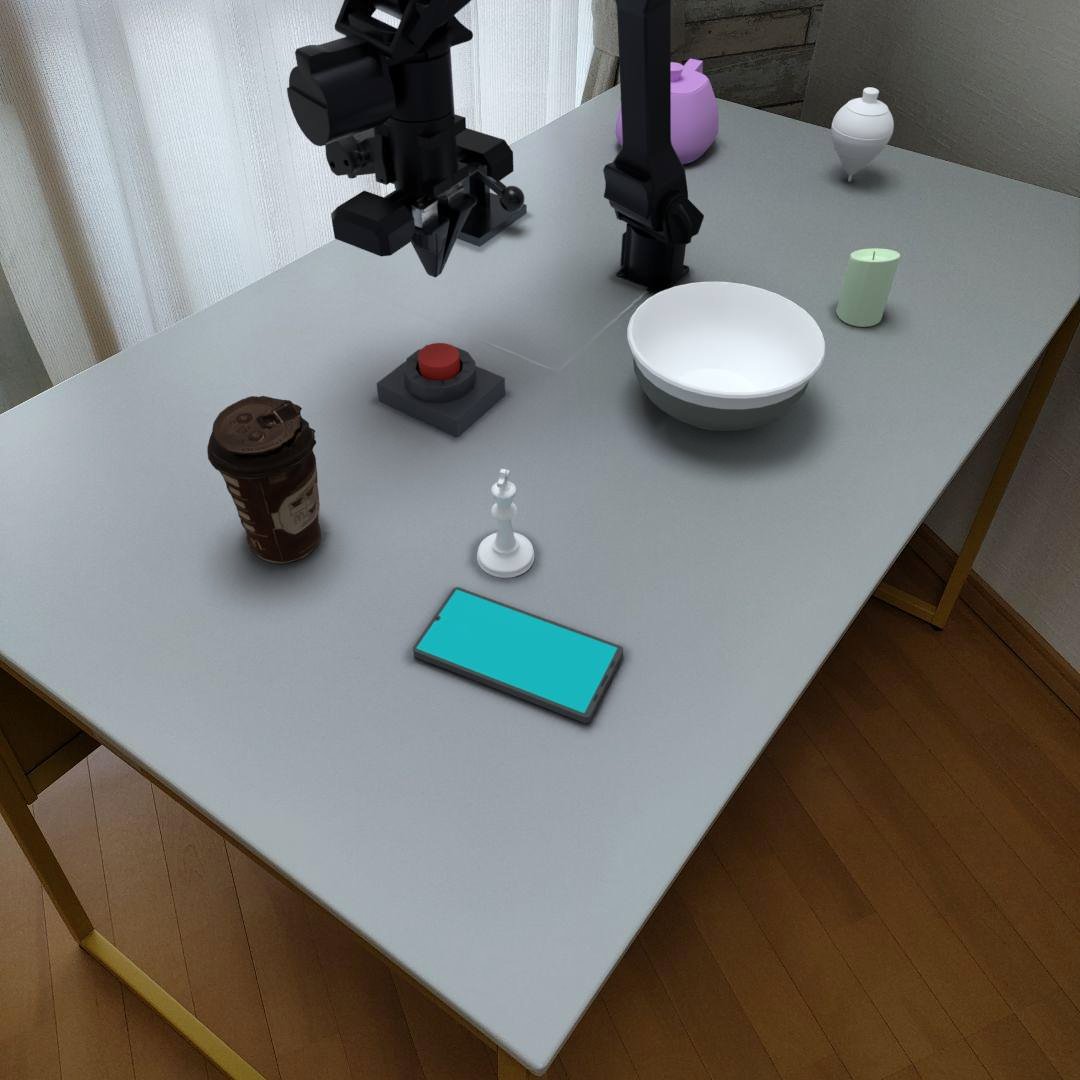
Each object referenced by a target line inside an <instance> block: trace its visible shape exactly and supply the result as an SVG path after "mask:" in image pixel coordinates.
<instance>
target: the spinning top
mask: <svg viewBox="0 0 1080 1080" xmlns="http://www.w3.org/2000/svg"><path fill="white" fill-rule="evenodd" d="M879 93H880V90H879V89H877V88H875V87H872V86H871V87H869V86H867V87H865V88H864V89H863V90H862V96H861V97H856V98H852V99H850V100H848V101H847V103H845V104H844V105H843V106H841V107H840V109H838V111H837V112H836V113H835V115H834V117H833V119H832V122H831V128H830V132H831V133H830V134H831V139H832V143H833V146H834V150H835V152H836V154H837V156H838V159H839V161H840V163H841V165H842V167H843V169H844V170H845V172H846V173H847V174H848V179H847V181H848V182H852V178H853V176H854V175H856V174H858V173H859V172H860V171H861V170H863V169H864V168H865V167H866V166H867V165H868V164H870V163H871V162H872V161H873V160H874V159H875V158H877V156H878V155H880V153H881V152H882V151H883V150H884V148H885V147H886V146H887V145H888V144H889V142H890V141H891V139H892V136H893V134H894V128H895V123H894V117H893V115H892V113H891V110H890V108H889V107H888V105H887V104H886V103H885V102H883V101H881V100H879V99H878V97H879Z"/></svg>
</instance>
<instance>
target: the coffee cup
mask: <svg viewBox="0 0 1080 1080" xmlns="http://www.w3.org/2000/svg"><path fill="white" fill-rule="evenodd" d="M302 410H303V408H302V407H301V406H300V405H298V404H295V403H293V402H292V400H289V399H288V400H287V399H282V398H281V399H280V398H275V397H271V396H266V395H261V396H257V395H252V396H251V395H250V396H248V397H245V398H241V399H240V400H237V401H236V402H233V403H232V404H230V405H228V406H226V408H224V409H222V410H221V412H219V414H218V415H217V416H216V418H215V419H214V421H213V424H212V430H211V433H210V436H209V440H208V444H207V447H206V449H207V453H206V454H207V460H208V461H209V462H210V464H211V466H212V467H213V468H214V469H215V470H216V471H218V472H219V473H220V475H221V476H222V478H223V481H224V483H225V485H226V489H227V492H228V493H229V494H230V496H231V498H232V502H233V504H234V506H235V507H236V511H237V514H238V517H239V519H240V524H241V526H242V528H243V529H244V531H245V534H246V543H247V545H248V548H249V549H250V550H251V551H252V552H253V553H254V554H255V555H256V556H257V557H258V558H260V559H262V560H263V561H266V562H268V563H274V564H287V563H291V562H294V561H297V560H298V561H299V560H300V559H303V558H305V557H306V556H308V555H309V554H311V553H312V551H314V550H315V548H316V547H317V546H318V545H319V543H320V541H321V537H322V529H321V524H320V521H319V520H320V519H319V513H320V508H321V507H320V506H321V504H320V503H321V502H320V492H319V486H318V483H319V482H318V479H319V478H318V469H317V468H318V467H317V458H316V454H315V453H314V447H315V446H316V445H317V440H316V435H315V433H316V429H314V428H312V427H310V423H309V421H307V420H306V419H305V418H303V417H302Z"/></svg>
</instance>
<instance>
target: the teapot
mask: <svg viewBox="0 0 1080 1080" xmlns="http://www.w3.org/2000/svg"><path fill="white" fill-rule="evenodd" d="M703 66H704V61H703V60H700V59H695V58H689V59H688V60H687V61H686V62H685V64H684V65H683V64H681V63H679V62H674V61H671V144H672V146H673V148H674V150H675V152H676V154H677V156H678V157H679V159H680V161H681V163H682V165H686V164H690V163H693V162H695V161H696V160H698V159H699V158H700V157H702V155H704V154H705V153H706V152H707V151H708V149H709V148H710V147H711V145H712V144H713V143H714V142H715V140H716V138H717V136H718V133H719V109H718V104H717V99H716V95H715V92H714V89H713V87H712V84H711V82H710V79H709V78H708V76H707V75H705V74H704V73H703ZM614 131H615V132H614V133H615V136H616V139H617V141H618V143H619V145H620V146H621V147H622V144H623V136H622V113H621V106H620V107H619V109H618V114H617V118H616V123H615V130H614Z"/></svg>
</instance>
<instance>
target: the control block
mask: <svg viewBox="0 0 1080 1080" xmlns="http://www.w3.org/2000/svg"><path fill="white" fill-rule="evenodd" d="M427 345H428V344H425V345H424V346H423V347H425V346H427ZM453 346H454V345H453ZM454 347H455V348H456V349H457V350H458V352H459V359H460V371H459V373H458V374H457V375H456V376H455V377H453V378H449V379H446V380H429V379H427V378H424V377H423V376H422V375H421V374H420V371H419V362H418V353H419V351H420V350H421V349H422V348H419V349H417V350H416V351H414V352H413V353H412V354H410V355H409V356H408V357H406V359H405V361H403V363H401V364H400V365H398V366H397V367H396V368H395V369H393V370H392V371H391V372H390V373H388V374H387V375H386V376H384V377H383V378H382V379H380V380H379V381H378V382H376V390H377V397H378V402H381V403H383V404H385V405H386V406H390V407H391V408H393V409H395V410H397V411H400V412H402V413H404V414H407V415H408V416H410V417H412V418H415V419H417V420H419V421H421V422H423V423H425V424H427V425H430V426H432V427H434V428H436V429H439V430H441V431H443V432H445V433H447V434H449V435H451V436H453V437H456V438H458V437H459V436H461V435H462V434H463V433H465V431H466V430H468V428H470V427H471V426H472V425H474V423H475V422H476V421H478V420H479V419H480V418H481V417H482V416H483V415H484V414H486V413H487V412H488V411H489V410H491V408H492V407H494V406H495V405H496V404H497V403H499V401H501V400H502V399H503V398H504V397H505V396H506V378H505V377H503V376H501V375H499V374H496V373H494V372H492V371H489V370H487V369H484V368H483V367H480V366H478V365H476V361H475V360H474V358H473V357H472V355H471V354H470V353H469V352H468V351H467V350H464V349H462V348H459V347H457V346H454Z"/></svg>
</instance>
